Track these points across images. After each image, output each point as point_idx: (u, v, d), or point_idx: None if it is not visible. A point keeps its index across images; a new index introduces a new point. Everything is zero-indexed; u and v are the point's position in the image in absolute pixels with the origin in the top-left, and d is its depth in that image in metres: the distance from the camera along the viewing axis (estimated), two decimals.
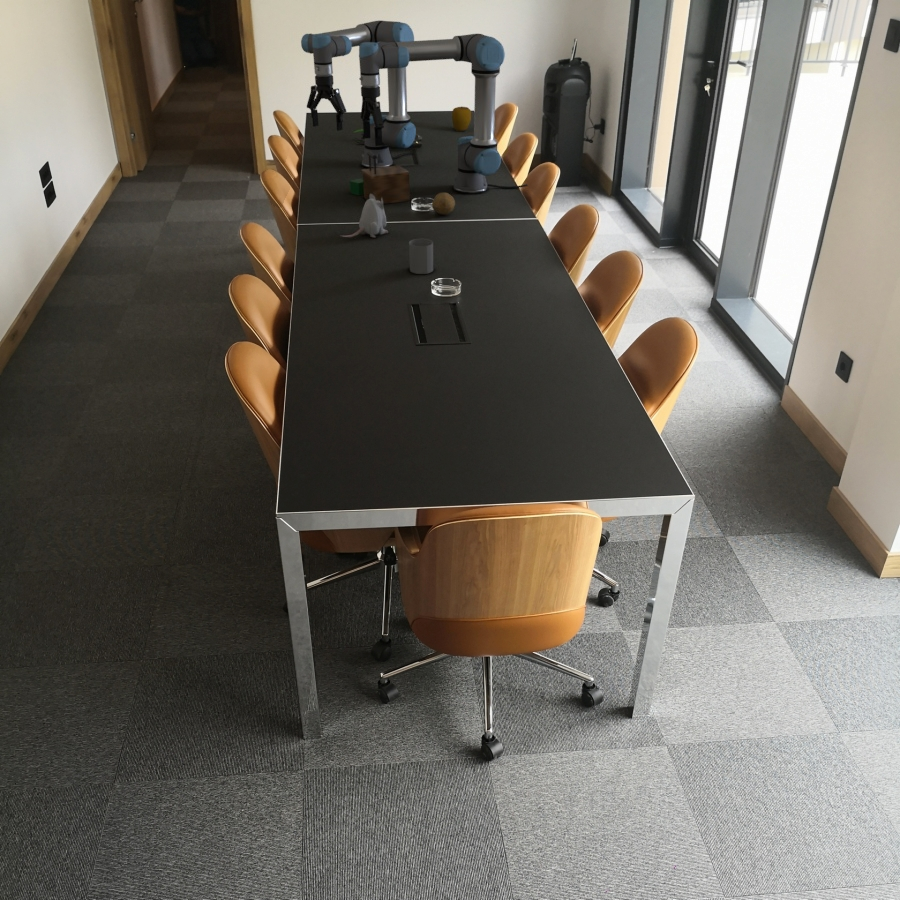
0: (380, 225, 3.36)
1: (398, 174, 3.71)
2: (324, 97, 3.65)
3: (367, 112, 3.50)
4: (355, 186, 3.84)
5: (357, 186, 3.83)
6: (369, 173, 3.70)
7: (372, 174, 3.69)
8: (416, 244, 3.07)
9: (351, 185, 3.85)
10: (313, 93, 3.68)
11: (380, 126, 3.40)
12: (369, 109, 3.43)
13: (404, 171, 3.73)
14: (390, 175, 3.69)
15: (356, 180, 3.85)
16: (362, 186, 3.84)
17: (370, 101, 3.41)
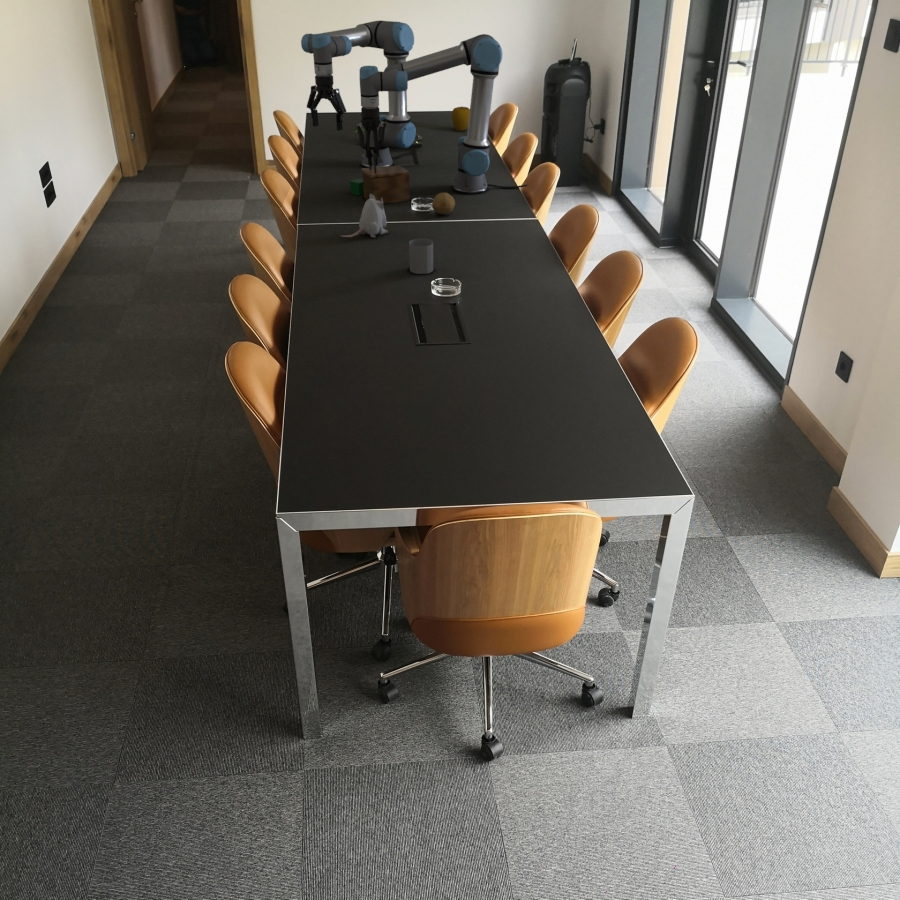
0: (380, 225, 3.36)
1: (398, 174, 3.71)
2: (324, 97, 3.65)
3: None
4: (355, 186, 3.84)
5: (357, 186, 3.83)
6: (369, 172, 3.70)
7: (372, 173, 3.68)
8: (416, 244, 3.07)
9: (351, 185, 3.85)
10: (313, 93, 3.68)
11: None
12: (375, 129, 3.61)
13: (404, 171, 3.73)
14: (390, 174, 3.69)
15: (356, 180, 3.85)
16: (362, 186, 3.84)
17: (377, 120, 3.60)
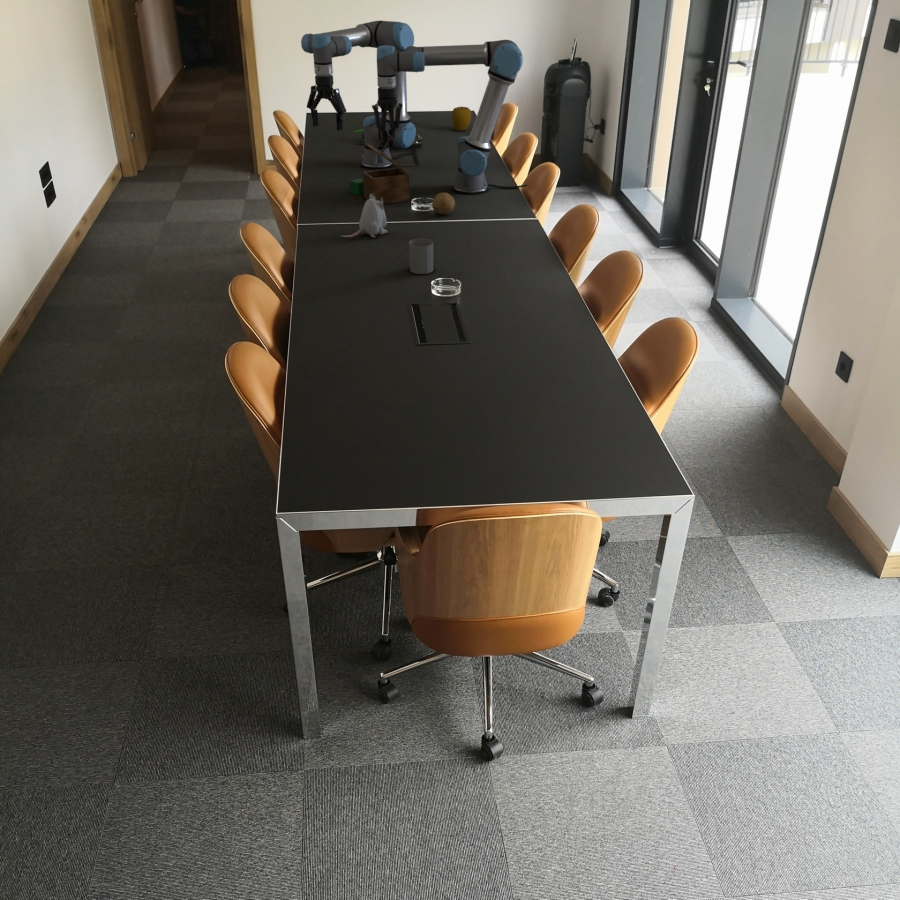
0: (380, 225, 3.36)
1: (400, 167, 3.69)
2: (324, 97, 3.65)
3: None
4: (355, 186, 3.84)
5: (357, 186, 3.83)
6: None
7: None
8: (416, 244, 3.07)
9: (351, 185, 3.85)
10: (313, 93, 3.68)
11: None
12: (391, 109, 3.60)
13: (405, 169, 3.72)
14: (393, 162, 3.67)
15: (356, 180, 3.85)
16: (362, 186, 3.84)
17: (393, 100, 3.59)
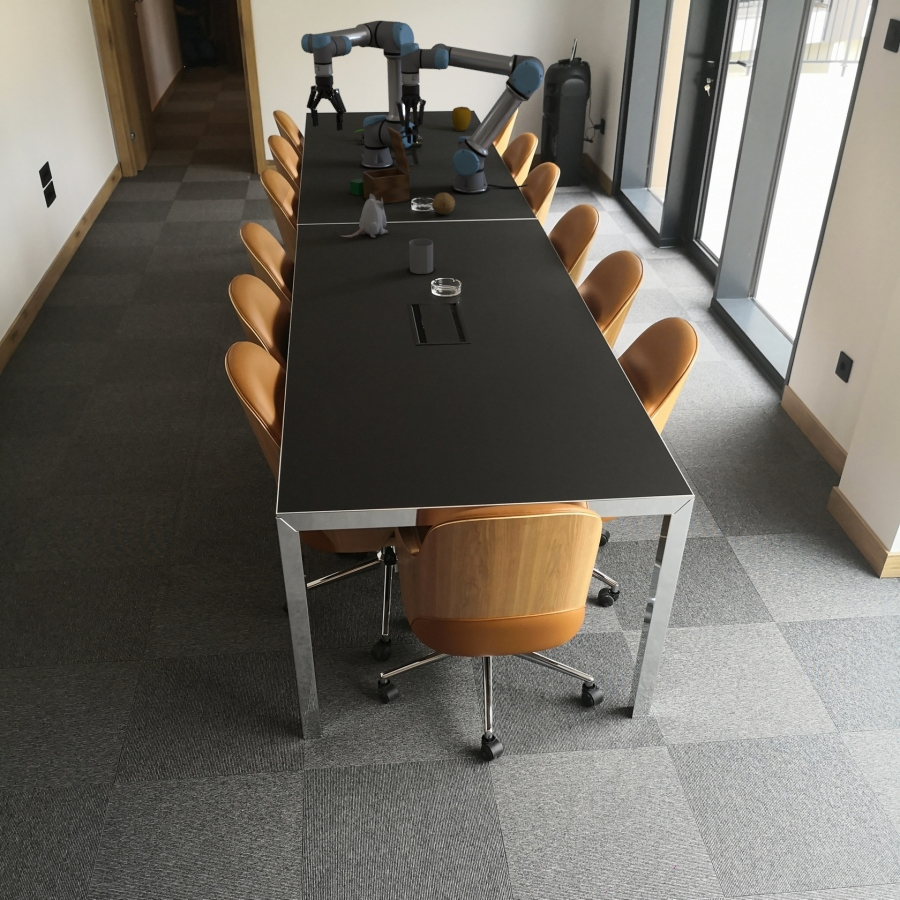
0: (380, 225, 3.36)
1: (406, 162, 3.69)
2: (324, 97, 3.65)
3: None
4: (355, 186, 3.84)
5: (357, 186, 3.83)
6: None
7: None
8: (416, 244, 3.07)
9: (351, 185, 3.85)
10: (313, 93, 3.68)
11: None
12: (415, 106, 3.63)
13: None
14: (404, 153, 3.67)
15: (356, 180, 3.85)
16: (362, 186, 3.84)
17: (417, 97, 3.63)
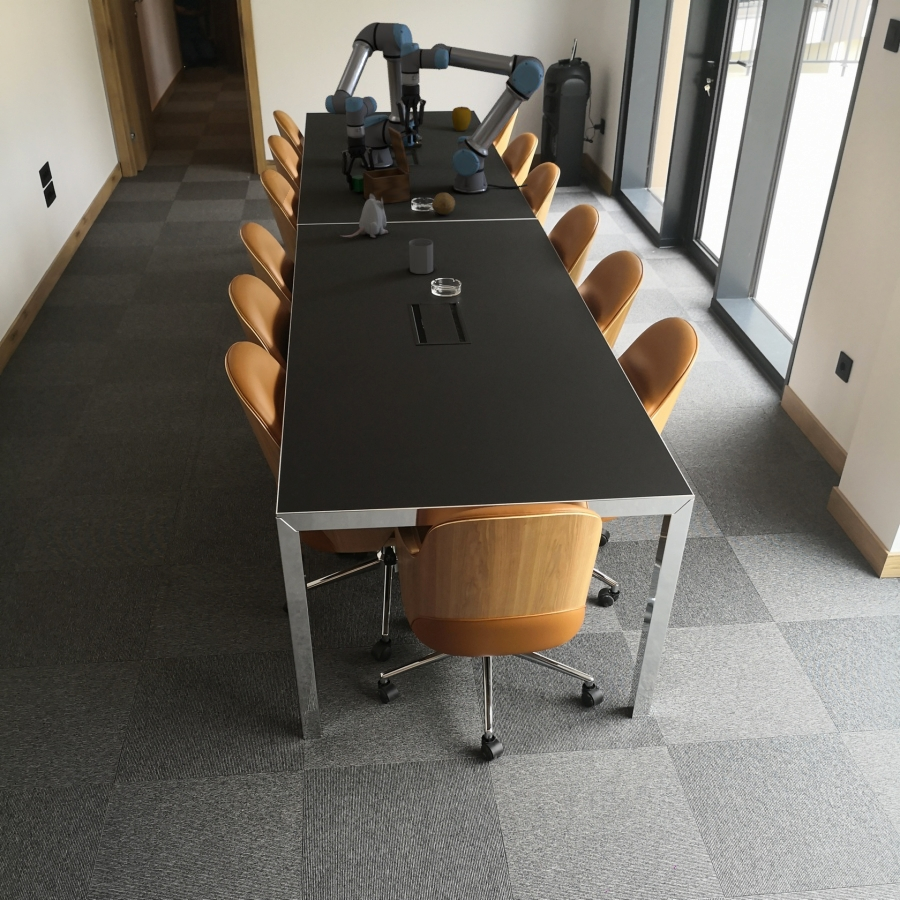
0: (380, 225, 3.36)
1: (406, 162, 3.69)
2: (359, 156, 3.79)
3: None
4: (355, 182, 3.83)
5: (358, 183, 3.82)
6: None
7: None
8: (416, 244, 3.07)
9: None
10: None
11: None
12: (415, 106, 3.63)
13: None
14: (404, 153, 3.67)
15: (356, 176, 3.85)
16: (362, 182, 3.84)
17: (417, 97, 3.63)
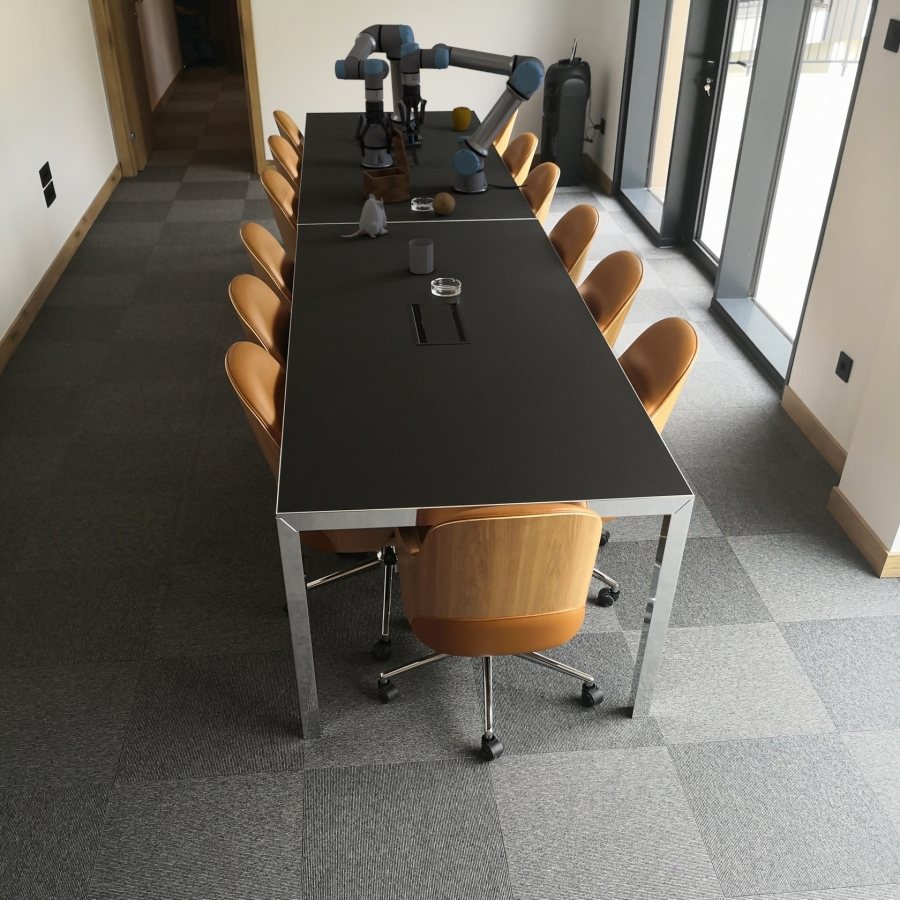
0: (380, 225, 3.36)
1: (406, 161, 3.69)
2: (376, 122, 3.61)
3: None
4: None
5: None
6: None
7: None
8: (416, 244, 3.07)
9: None
10: None
11: None
12: (416, 106, 3.64)
13: None
14: (404, 153, 3.67)
15: None
16: None
17: (418, 97, 3.63)
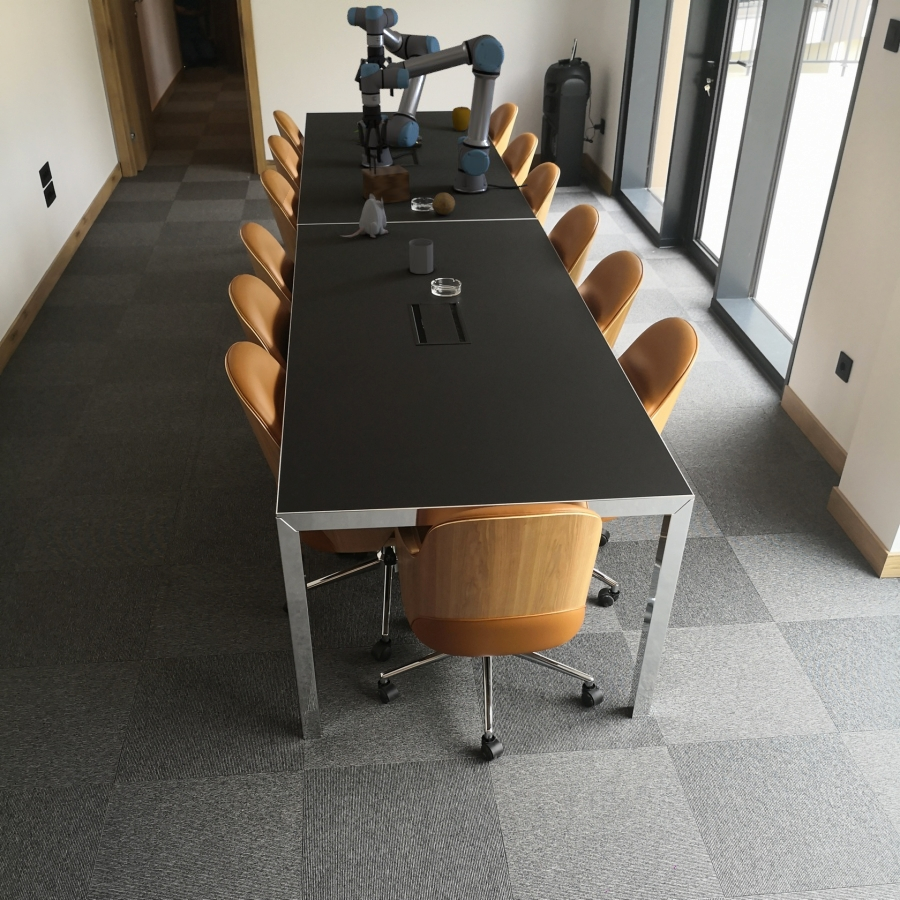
0: (380, 225, 3.36)
1: (398, 174, 3.71)
2: None
3: None
4: None
5: None
6: (369, 173, 3.70)
7: (372, 174, 3.69)
8: (416, 244, 3.07)
9: None
10: None
11: None
12: (377, 126, 3.61)
13: (404, 171, 3.73)
14: (390, 175, 3.69)
15: None
16: None
17: (378, 118, 3.60)
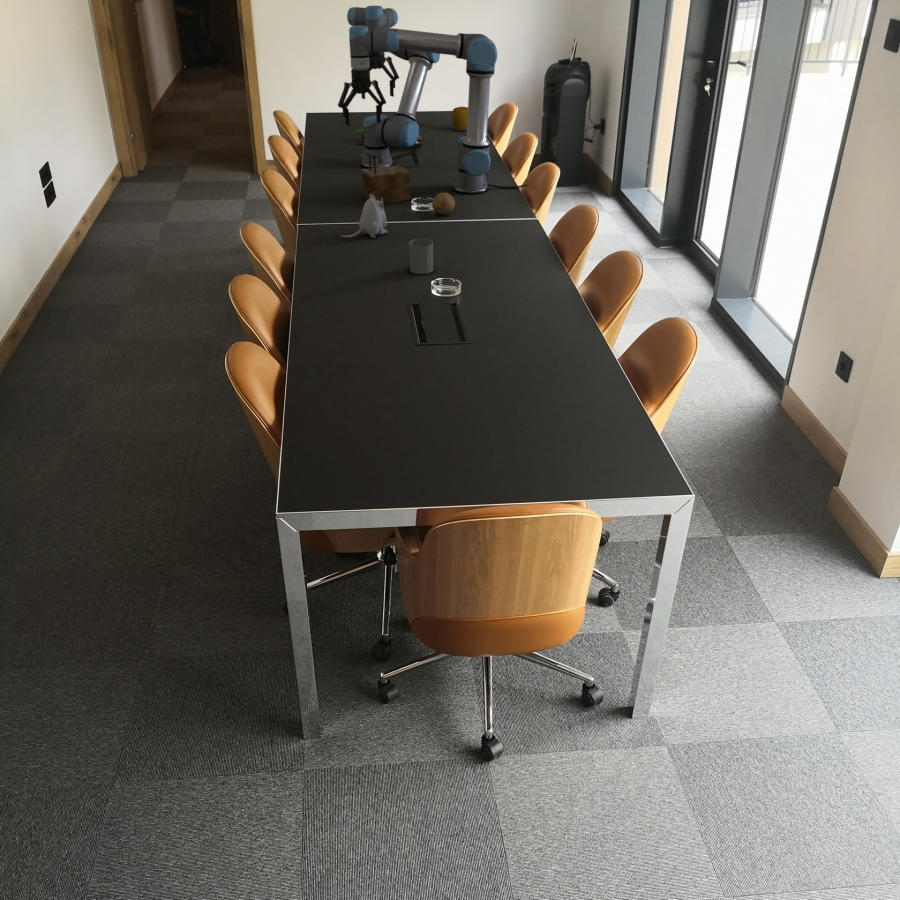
0: (380, 225, 3.36)
1: (398, 174, 3.71)
2: (378, 67, 3.81)
3: None
4: None
5: None
6: (369, 173, 3.70)
7: (372, 174, 3.69)
8: (416, 244, 3.07)
9: None
10: None
11: None
12: (368, 90, 3.52)
13: (404, 171, 3.73)
14: (390, 175, 3.69)
15: None
16: None
17: (367, 82, 3.51)
